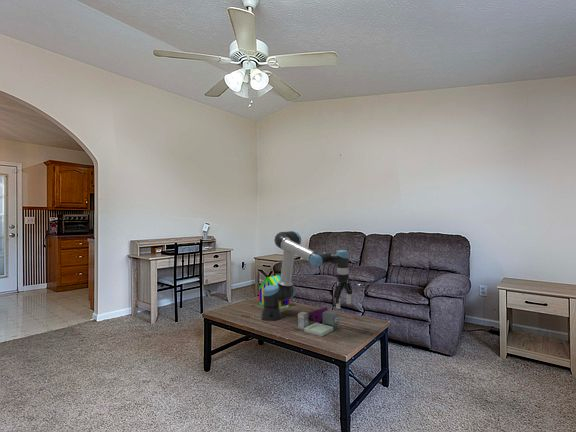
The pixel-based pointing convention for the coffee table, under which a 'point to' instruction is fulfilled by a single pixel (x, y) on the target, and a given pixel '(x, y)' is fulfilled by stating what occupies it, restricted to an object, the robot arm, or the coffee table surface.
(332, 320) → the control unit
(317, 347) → the coffee table surface
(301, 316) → the module
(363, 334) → the coffee table surface
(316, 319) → the mounting bracket
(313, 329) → the tray
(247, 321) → the coffee table surface
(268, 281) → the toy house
